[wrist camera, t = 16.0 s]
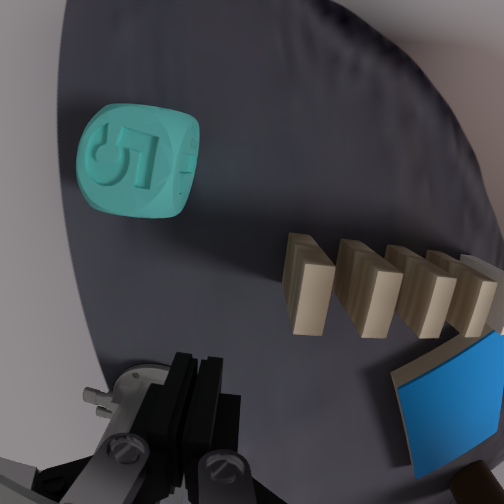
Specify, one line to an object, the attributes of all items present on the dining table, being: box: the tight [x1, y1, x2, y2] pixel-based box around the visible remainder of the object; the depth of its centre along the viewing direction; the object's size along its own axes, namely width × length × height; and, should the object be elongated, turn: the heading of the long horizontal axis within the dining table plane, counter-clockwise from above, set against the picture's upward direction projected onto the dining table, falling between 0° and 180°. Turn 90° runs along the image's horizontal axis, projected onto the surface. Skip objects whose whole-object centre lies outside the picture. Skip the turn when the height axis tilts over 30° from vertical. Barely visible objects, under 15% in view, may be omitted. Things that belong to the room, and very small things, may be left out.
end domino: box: [459, 254, 504, 335], centre depth 26 cm, size 2×5×10 cm, turn 174°
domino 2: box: [332, 238, 403, 338], centre depth 25 cm, size 2×5×10 cm, turn 174°
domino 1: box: [282, 232, 336, 336], centre depth 25 cm, size 2×5×10 cm, turn 174°
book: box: [390, 323, 504, 479], centre depth 34 cm, size 17×4×25 cm
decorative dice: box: [76, 104, 199, 218], centre depth 24 cm, size 8×8×8 cm
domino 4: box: [425, 250, 498, 337], centre depth 25 cm, size 2×5×10 cm, turn 174°
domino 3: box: [384, 244, 457, 338], centre depth 25 cm, size 2×5×10 cm, turn 174°
